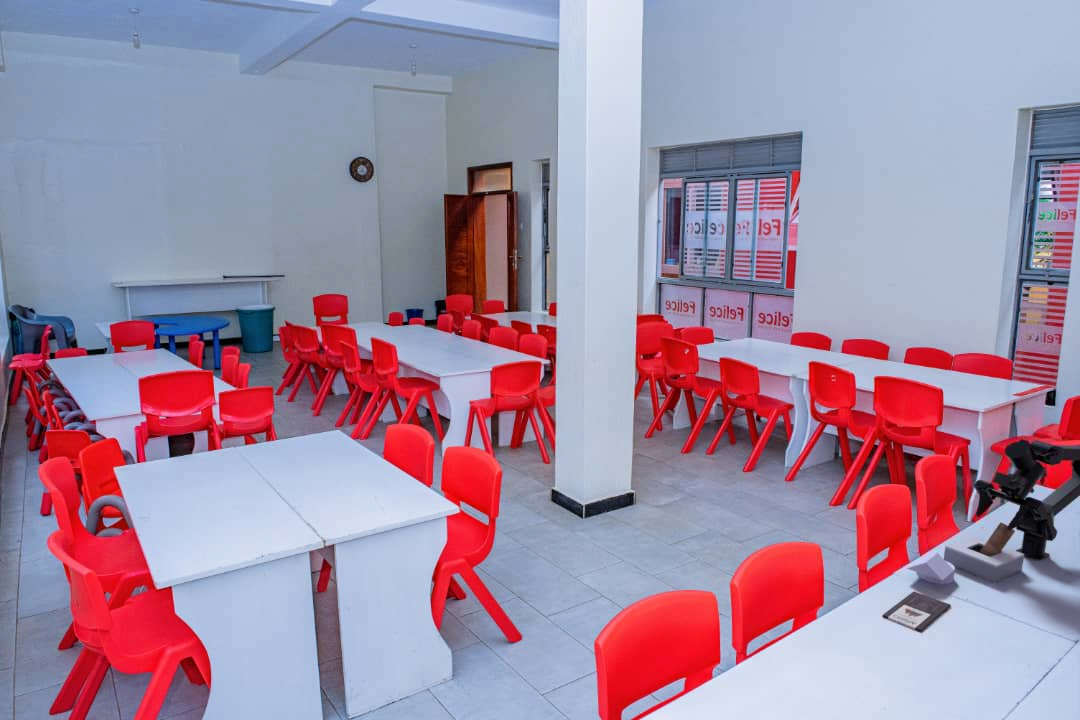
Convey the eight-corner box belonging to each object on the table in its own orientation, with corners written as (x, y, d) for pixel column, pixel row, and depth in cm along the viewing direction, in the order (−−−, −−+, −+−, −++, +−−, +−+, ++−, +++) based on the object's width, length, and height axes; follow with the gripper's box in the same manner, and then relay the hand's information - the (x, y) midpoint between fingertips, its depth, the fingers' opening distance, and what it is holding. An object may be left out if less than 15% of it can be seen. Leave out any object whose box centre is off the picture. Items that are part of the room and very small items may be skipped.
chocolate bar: (950, 604, 191) (921, 630, 179) (950, 608, 191) (920, 633, 179) (913, 591, 197) (882, 614, 186) (913, 594, 198) (882, 618, 186)
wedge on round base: (941, 592, 198) (958, 576, 207) (944, 568, 197) (961, 553, 206) (905, 580, 205) (923, 565, 214) (907, 556, 203) (926, 542, 212)
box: (971, 551, 223) (973, 535, 222) (1021, 571, 211) (1024, 554, 210) (943, 562, 215) (945, 545, 214) (994, 583, 204) (996, 565, 203)
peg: (984, 560, 215) (1009, 525, 212) (992, 568, 211) (1018, 533, 208) (972, 555, 215) (997, 520, 211) (980, 563, 211) (1006, 528, 208)
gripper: (981, 452, 219) (950, 494, 216) (1047, 472, 202) (1013, 518, 200) (997, 474, 223) (966, 516, 221) (1062, 496, 207) (1029, 542, 204)
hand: (992, 522), depth 212 cm, fingers open, 9 cm apart
